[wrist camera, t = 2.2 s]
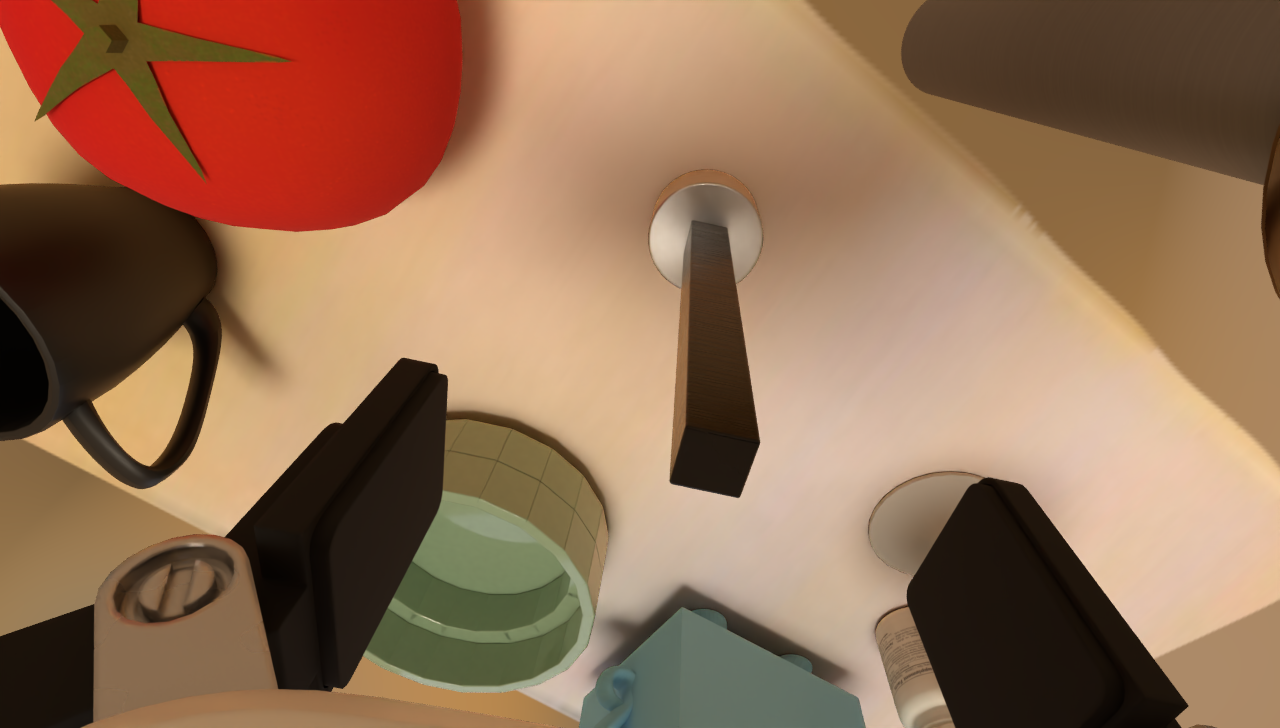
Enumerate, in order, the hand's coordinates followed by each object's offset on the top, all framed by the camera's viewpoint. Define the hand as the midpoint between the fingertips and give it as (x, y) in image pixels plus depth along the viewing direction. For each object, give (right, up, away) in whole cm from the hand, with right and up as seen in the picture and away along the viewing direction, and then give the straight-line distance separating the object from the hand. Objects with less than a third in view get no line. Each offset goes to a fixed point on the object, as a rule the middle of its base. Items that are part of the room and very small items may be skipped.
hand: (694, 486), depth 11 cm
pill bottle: (+15, -14, +25) cm, 32 cm away
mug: (-22, +6, +18) cm, 29 cm away
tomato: (-12, +15, +12) cm, 23 cm away
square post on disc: (+2, +8, +14) cm, 17 cm away
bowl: (-10, -6, +24) cm, 26 cm away
